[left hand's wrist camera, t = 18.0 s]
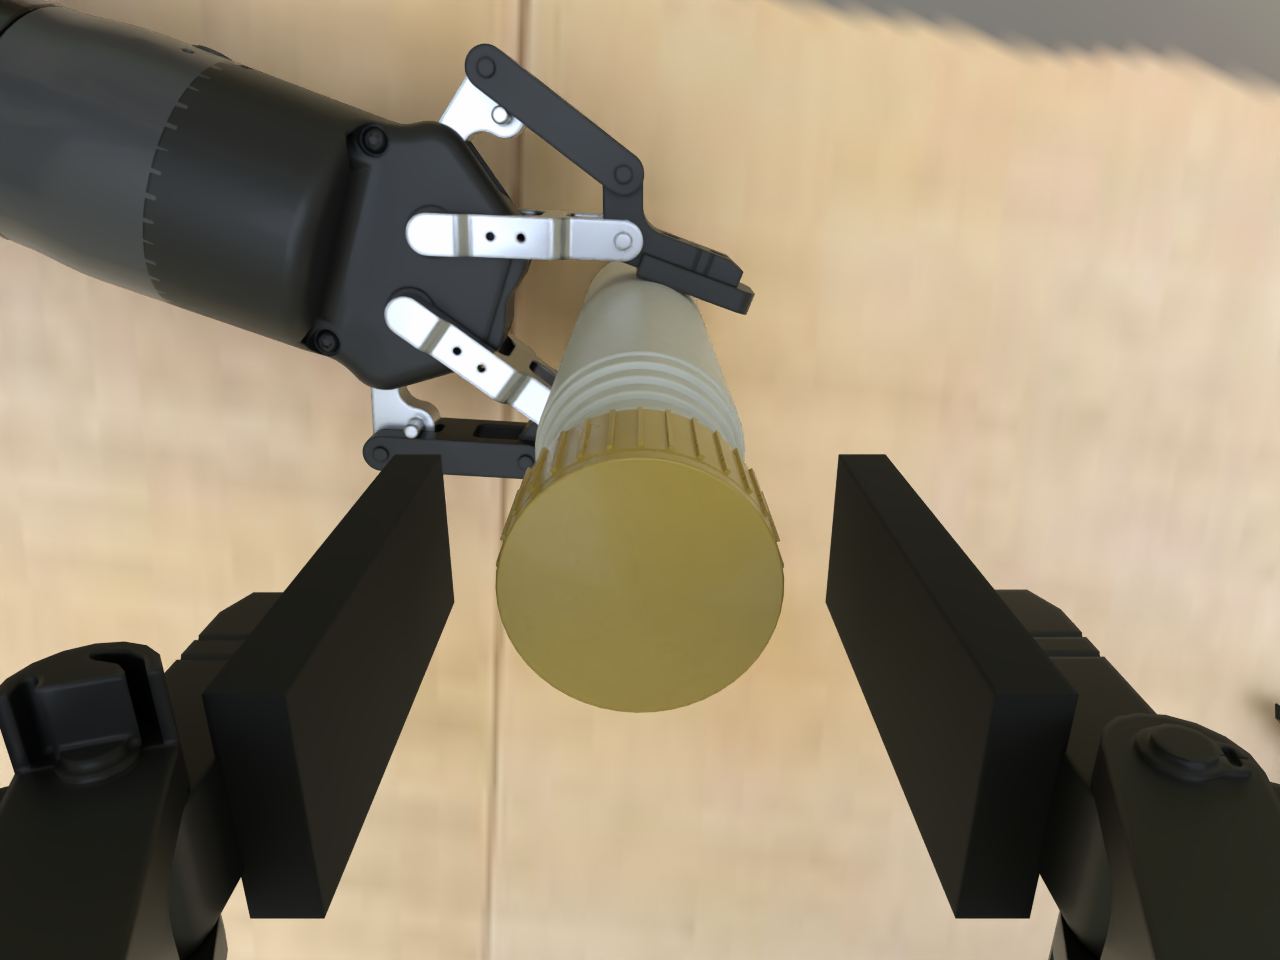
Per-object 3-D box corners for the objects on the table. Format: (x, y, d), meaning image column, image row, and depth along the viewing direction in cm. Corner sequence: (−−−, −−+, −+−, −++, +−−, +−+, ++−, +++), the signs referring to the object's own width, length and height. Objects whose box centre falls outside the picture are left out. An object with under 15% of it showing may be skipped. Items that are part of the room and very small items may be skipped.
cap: (770, 622, 15) (793, 703, 13) (533, 643, 15) (515, 727, 13) (759, 391, 14) (783, 439, 11) (495, 418, 14) (467, 468, 12)
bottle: (677, 238, 33) (744, 396, 12) (707, 345, 34) (815, 655, 13) (569, 272, 33) (449, 482, 12) (604, 377, 35) (550, 724, 14)
